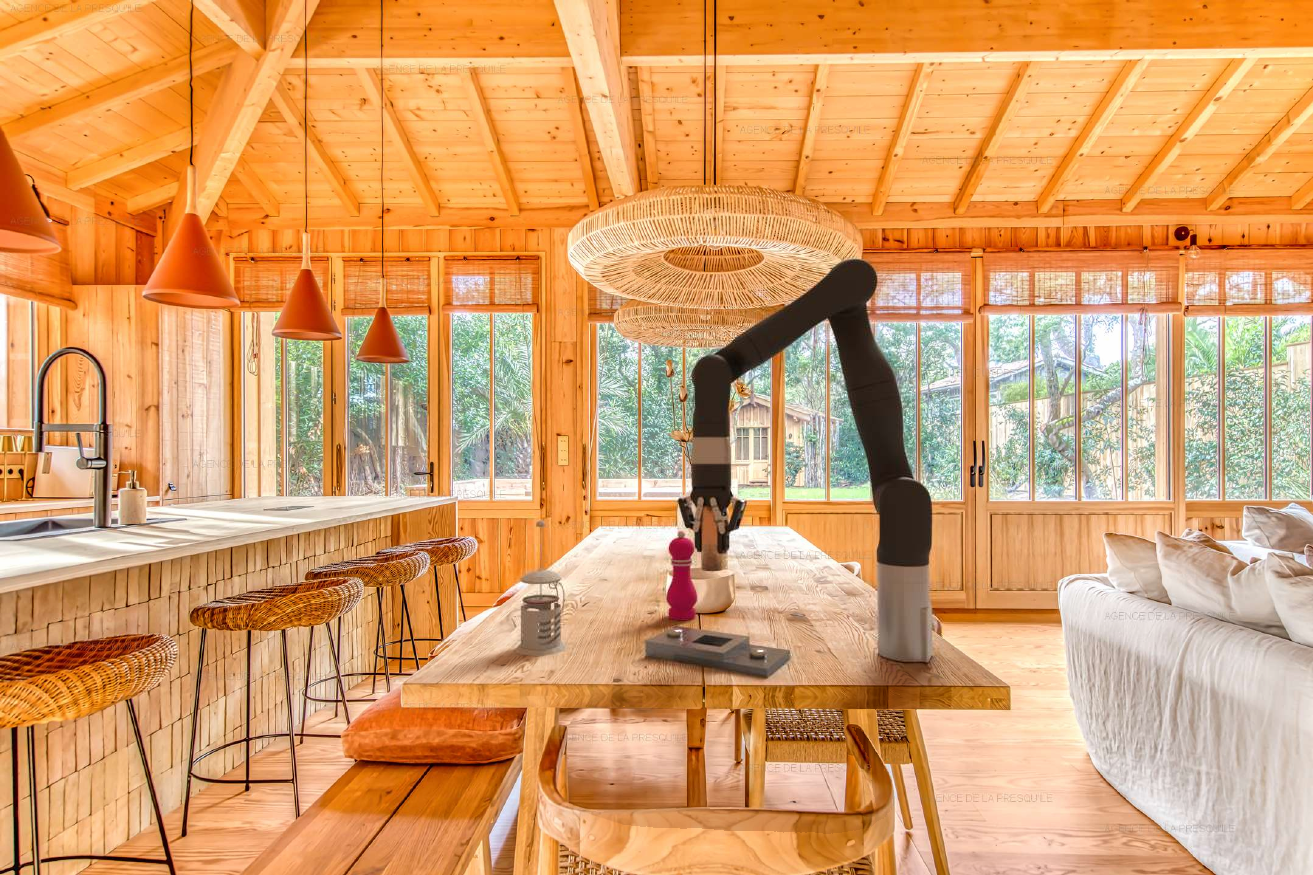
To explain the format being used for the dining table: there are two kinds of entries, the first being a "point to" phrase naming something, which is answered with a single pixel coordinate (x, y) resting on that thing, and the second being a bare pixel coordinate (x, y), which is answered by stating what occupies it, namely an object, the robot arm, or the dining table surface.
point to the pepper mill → (681, 579)
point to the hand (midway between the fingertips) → (711, 552)
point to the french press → (541, 614)
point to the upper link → (694, 644)
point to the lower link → (743, 660)
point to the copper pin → (710, 542)
